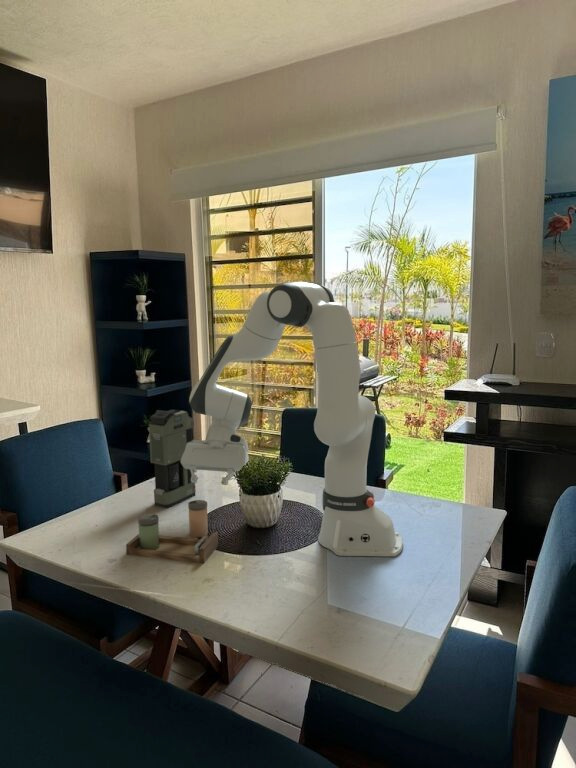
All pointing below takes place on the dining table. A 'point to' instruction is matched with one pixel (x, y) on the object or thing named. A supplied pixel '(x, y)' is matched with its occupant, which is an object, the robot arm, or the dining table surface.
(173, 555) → the wooden tray
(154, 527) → the olive jar
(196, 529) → the terracotta jar
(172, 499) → the device
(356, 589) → the dining table surface
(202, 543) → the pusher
